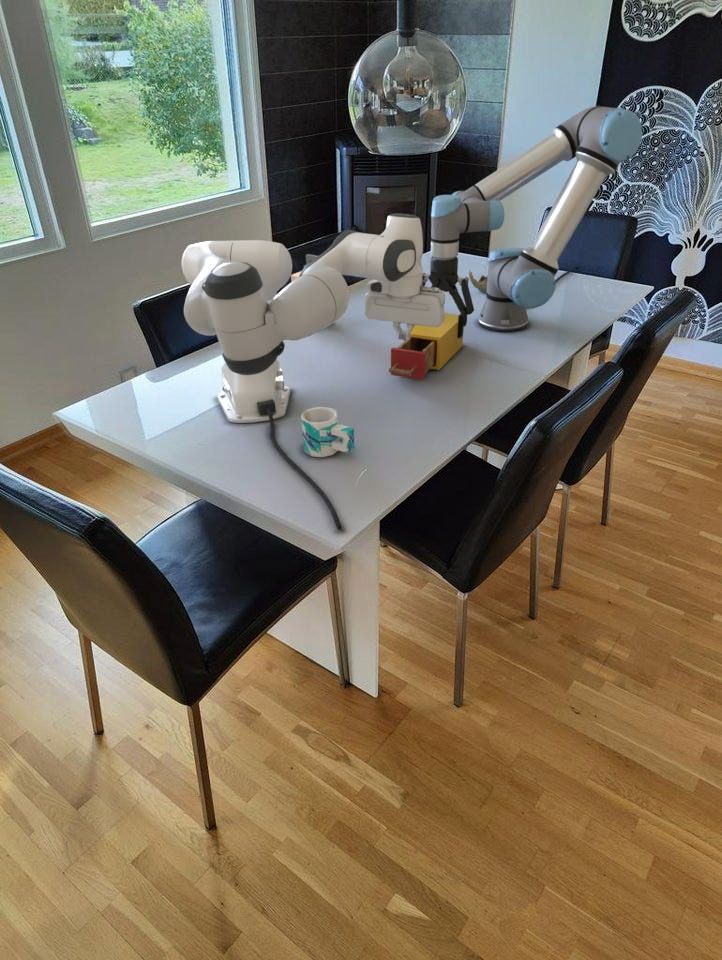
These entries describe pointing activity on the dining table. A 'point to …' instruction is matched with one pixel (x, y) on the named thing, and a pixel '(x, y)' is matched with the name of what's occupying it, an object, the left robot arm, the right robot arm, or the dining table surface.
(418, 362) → the drawer
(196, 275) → the left robot arm
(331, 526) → the dining table surface
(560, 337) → the dining table surface
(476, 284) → the jawbone
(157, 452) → the dining table surface
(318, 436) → the mug
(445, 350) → the cabinet
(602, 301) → the dining table surface
